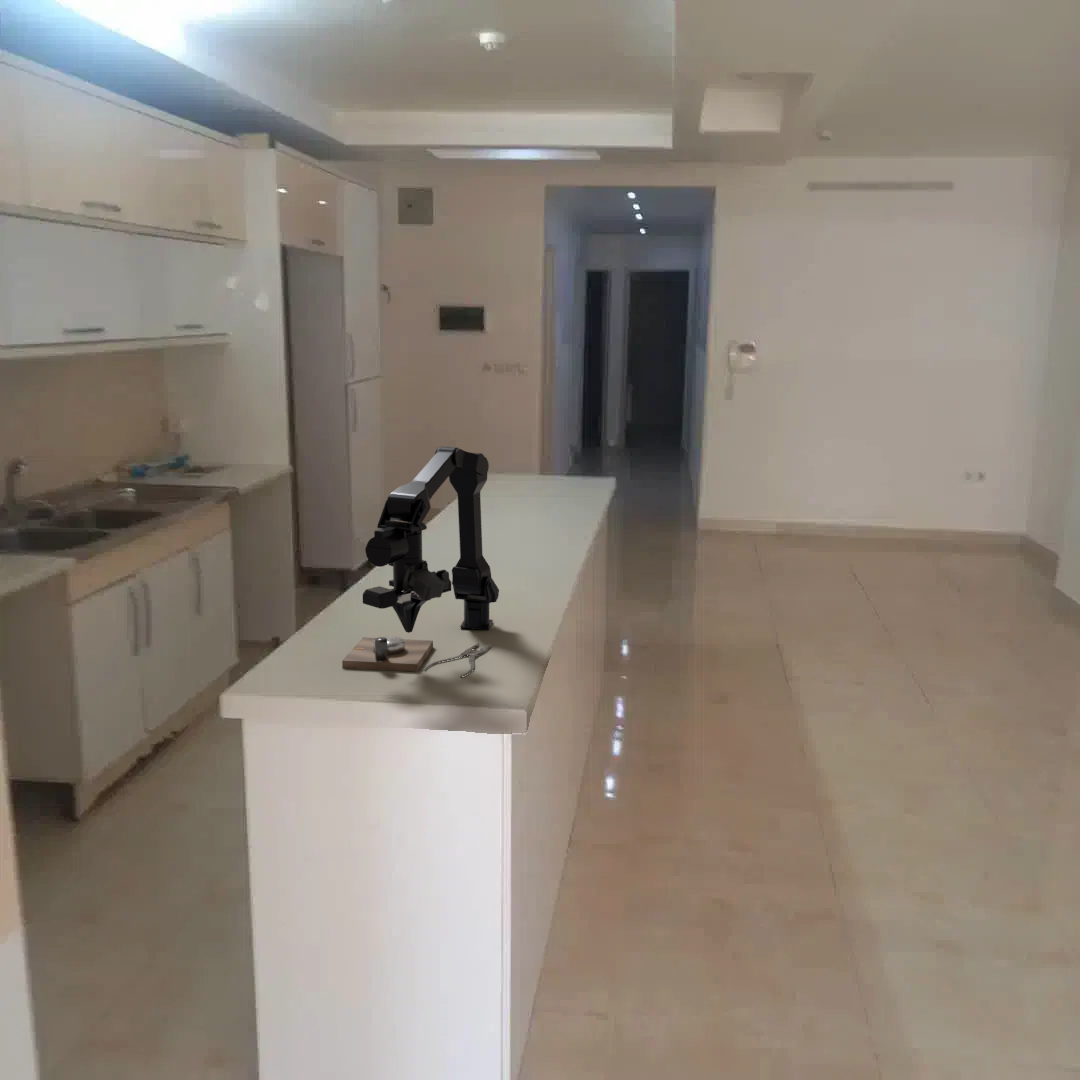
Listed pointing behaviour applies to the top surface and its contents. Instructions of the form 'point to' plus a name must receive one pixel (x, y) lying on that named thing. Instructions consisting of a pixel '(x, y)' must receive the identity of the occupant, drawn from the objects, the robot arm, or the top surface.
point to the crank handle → (387, 646)
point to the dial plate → (401, 661)
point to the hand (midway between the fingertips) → (408, 632)
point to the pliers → (468, 652)
